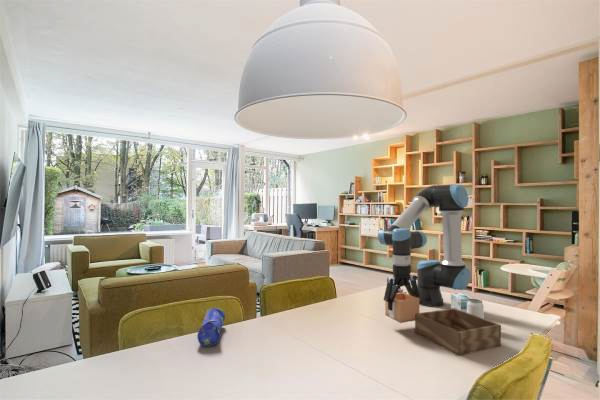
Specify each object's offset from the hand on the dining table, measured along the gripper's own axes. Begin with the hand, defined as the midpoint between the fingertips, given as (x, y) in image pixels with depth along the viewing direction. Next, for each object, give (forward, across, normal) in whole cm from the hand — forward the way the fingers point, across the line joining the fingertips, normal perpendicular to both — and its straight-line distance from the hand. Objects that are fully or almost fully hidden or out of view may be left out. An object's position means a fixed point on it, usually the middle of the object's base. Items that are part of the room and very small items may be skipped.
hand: (402, 315), depth 140 cm
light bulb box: (+7, +36, +1) cm, 37 cm away
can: (+7, +31, -10) cm, 34 cm away
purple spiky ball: (+7, +14, +22) cm, 27 cm away
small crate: (+1, 0, 0) cm, 1 cm away
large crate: (+6, +13, -16) cm, 22 cm away
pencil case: (+5, -78, +22) cm, 81 cm away
